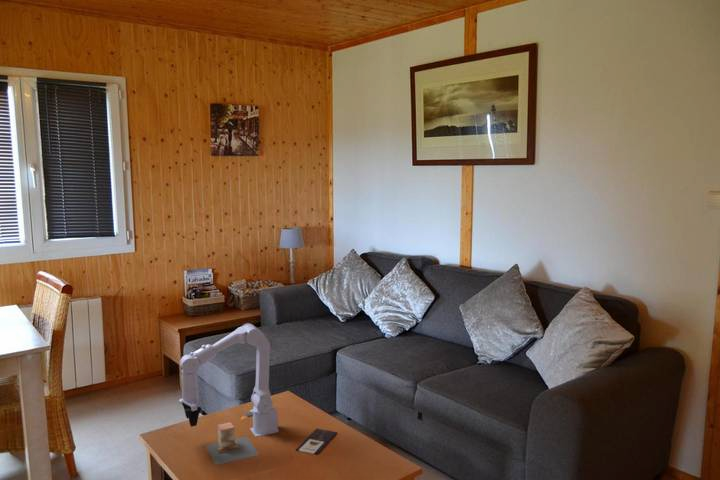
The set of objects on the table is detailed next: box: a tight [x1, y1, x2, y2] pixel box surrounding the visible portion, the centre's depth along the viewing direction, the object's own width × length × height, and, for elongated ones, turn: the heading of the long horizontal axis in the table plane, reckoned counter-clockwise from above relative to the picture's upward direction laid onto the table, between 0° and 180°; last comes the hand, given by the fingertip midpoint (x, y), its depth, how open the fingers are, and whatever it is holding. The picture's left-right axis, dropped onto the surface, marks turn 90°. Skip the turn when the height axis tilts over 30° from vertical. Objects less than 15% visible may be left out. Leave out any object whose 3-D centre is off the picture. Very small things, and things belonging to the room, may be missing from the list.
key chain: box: [239, 408, 253, 420], centre depth 242 cm, size 13×4×2 cm, turn 152°
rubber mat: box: [205, 436, 260, 466], centre depth 213 cm, size 16×16×1 cm
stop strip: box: [218, 444, 240, 453], centre depth 213 cm, size 8×1×1 cm, turn 117°
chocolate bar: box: [295, 428, 338, 456], centre depth 220 cm, size 9×1×18 cm
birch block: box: [217, 421, 236, 448], centre depth 216 cm, size 5×5×8 cm
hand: (191, 421), depth 215 cm, fingers open, 7 cm apart
